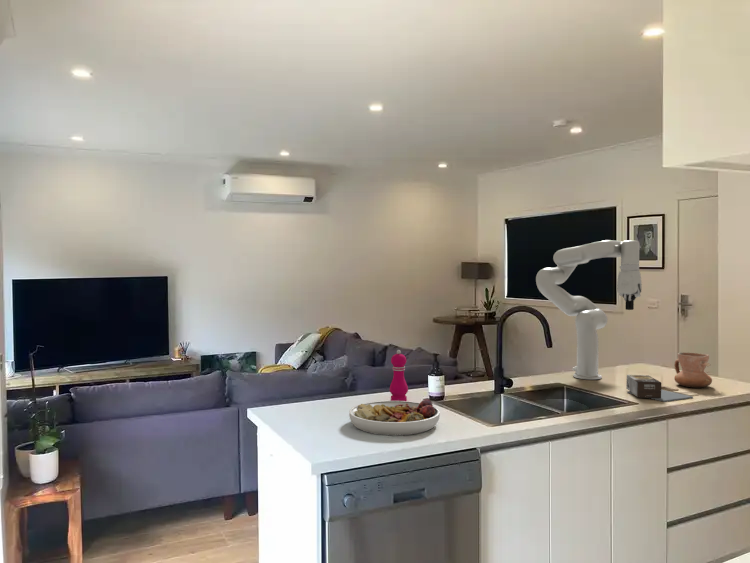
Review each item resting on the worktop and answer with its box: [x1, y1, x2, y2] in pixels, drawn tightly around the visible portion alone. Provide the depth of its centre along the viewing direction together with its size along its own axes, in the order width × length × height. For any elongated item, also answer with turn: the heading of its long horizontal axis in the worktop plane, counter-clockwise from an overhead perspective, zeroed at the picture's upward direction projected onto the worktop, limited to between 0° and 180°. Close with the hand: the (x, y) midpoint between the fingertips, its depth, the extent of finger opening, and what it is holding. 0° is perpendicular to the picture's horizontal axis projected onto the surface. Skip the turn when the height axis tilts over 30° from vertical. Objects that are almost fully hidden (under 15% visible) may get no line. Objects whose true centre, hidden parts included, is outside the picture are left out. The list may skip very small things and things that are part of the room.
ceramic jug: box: [674, 351, 713, 389], centre depth 261 cm, size 18×14×14 cm
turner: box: [661, 384, 699, 397], centre depth 251 cm, size 20×5×1 cm, turn 24°
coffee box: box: [626, 374, 662, 399], centre depth 243 cm, size 9×6×16 cm
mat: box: [626, 389, 694, 403], centre depth 242 cm, size 18×16×1 cm
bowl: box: [348, 398, 441, 436], centre depth 199 cm, size 30×30×8 cm
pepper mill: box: [389, 349, 409, 401], centre depth 234 cm, size 7×7×20 cm
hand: (629, 309), depth 266 cm, fingers closed
